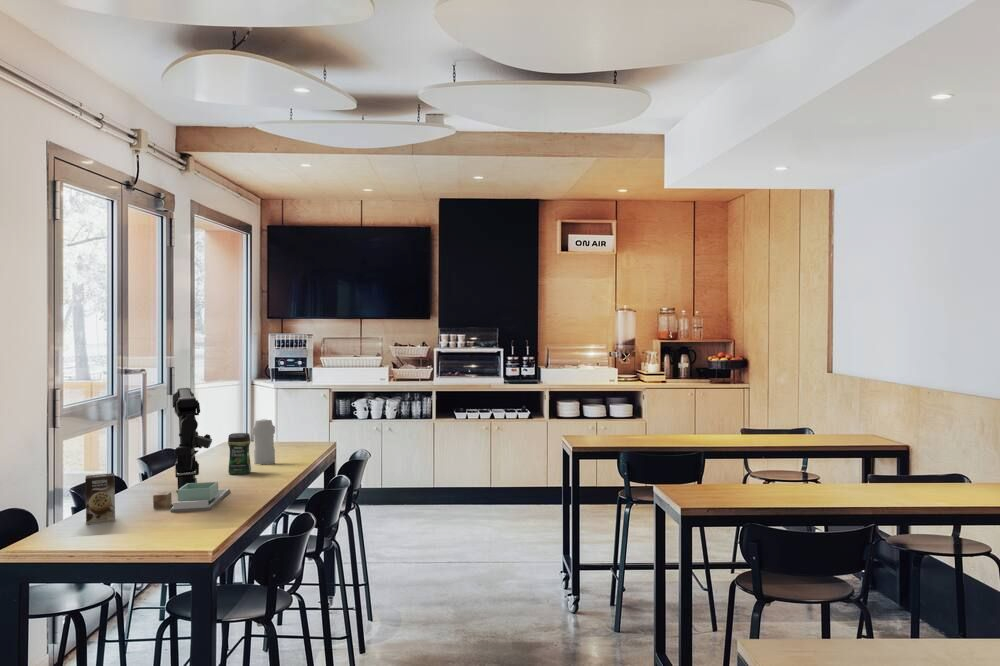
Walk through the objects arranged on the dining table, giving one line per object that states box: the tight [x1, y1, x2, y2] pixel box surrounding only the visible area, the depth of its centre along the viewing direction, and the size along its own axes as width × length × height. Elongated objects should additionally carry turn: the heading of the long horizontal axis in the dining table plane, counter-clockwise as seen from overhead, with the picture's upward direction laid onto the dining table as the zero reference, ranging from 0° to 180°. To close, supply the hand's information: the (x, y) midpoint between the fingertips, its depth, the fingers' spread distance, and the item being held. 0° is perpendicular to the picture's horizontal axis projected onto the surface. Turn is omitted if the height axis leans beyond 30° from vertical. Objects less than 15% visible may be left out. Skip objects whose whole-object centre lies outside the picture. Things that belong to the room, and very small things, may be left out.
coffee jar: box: [227, 432, 252, 475], centre depth 344 cm, size 10×8×19 cm
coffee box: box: [84, 472, 116, 525], centre depth 263 cm, size 9×6×16 cm
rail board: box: [170, 487, 231, 513], centre depth 289 cm, size 14×30×3 cm, turn 7°
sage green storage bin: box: [177, 481, 219, 503], centre depth 285 cm, size 12×12×6 cm
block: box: [152, 491, 173, 509], centre depth 283 cm, size 5×5×5 cm
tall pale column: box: [252, 418, 276, 465], centre depth 366 cm, size 11×4×22 cm, turn 96°
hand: (189, 470), depth 292 cm, fingers closed
